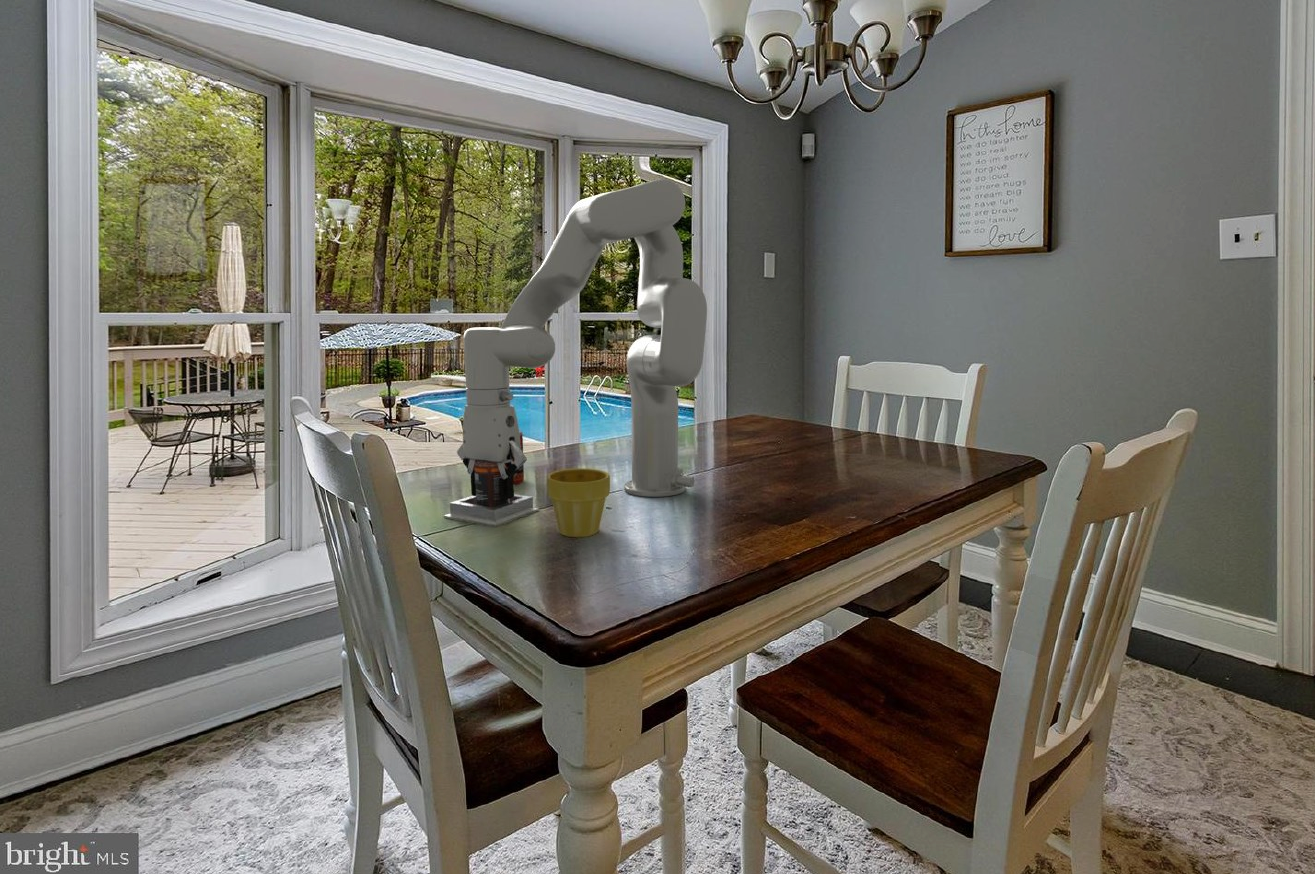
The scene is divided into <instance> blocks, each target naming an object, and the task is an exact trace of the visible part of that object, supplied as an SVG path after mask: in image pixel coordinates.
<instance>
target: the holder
mask: <svg viewBox="0 0 1315 874" xmlns="http://www.w3.org/2000/svg"><path fill="white" fill-rule="evenodd" d="M449 510H450V511H449V513H448V514H444V515H443V518H444V519H449V520H454V521H459V522H460V521H461V522H465V523H472V524H477V525H481V524H482V525H481V526H486V527H487V526H488V527H492V528H497V527H500V526H503V525H505V524H508V523H510V522H513V521H516V520H518V519H521V518H524V517H526V516H529V515H531V514H534V513H537V512H539V511H540V508H539V507H534V497H533V496H529V495H522V494H515V493H514V497H513V498H510V502H509V503H506V504H503V505H500V506H497V507H494V508H493V507H487V506H481V505H476V496H472V495H469V496H467V497H463V498H460V499H458V500H454V501H450V502H449Z"/></svg>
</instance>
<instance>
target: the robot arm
mask: <svg viewBox="0 0 1315 874" xmlns="http://www.w3.org/2000/svg"><path fill="white" fill-rule="evenodd" d="M685 209H686V198H685V194H684V192H683V190H682V189H681V187H680V186H679V185H678V184H677V183H676V182H674V181H672V180H670V179H666V178H658V179H654V180H652V181H648V182H644V183H640V184H636V185H633V186H631V187H627V188H621V189H618V190H613V191H609V192H605V193H599V194H596V195H593V196H590V197H586V198H583V199H580V200H579V201H578V202H576V203H575V204H574V205H573V206H572V207H571V209H570V210H569V212H568V215H567V216H566V218H565V220H564V221H563V224H562V226H561V228H560V230H559V232H558V233H557V234H556V237H555V240H554V241H553V243H552V245H551V247H550V249H549V250H548V253H547V254H546V257H545V259H544V260H543V262H542V264H541V266H540V267H539V268H538V270H537V271H536V272H535V274H534V275H533V276H532V277H531V279H530V280H529V281H528V283H526V285H525V286H524V287H523V289H521V291H520V293H519V294H518V296H517V297H516V298H515V299H514V302H513V303H512V304H511V306H510V309H509V310H508V312H507V314H506V315H505V317H504V320H503V321H502V323H501V326H500V327H497V326H494V327H493V326H491V327H489V326H487V327H486V326H485V327H479V326H478V327H470V328H467V329H466V330H465V331H464V334H463V353H464V354H463V356H464V372H465V373H464V374H465V376H464V377H465V378H464V379H465V396H466V397H465V398H466V405H464V411H463V419H462V444H461V445H460V446H459V448H458V449H457V451H456V455H458V457H459V458H460V460H461V461H462V463H463V465H464V466H465V468H466V471H467V474H468V475H470V489H471V490H470V491H471V492H470V493H471V496H476V487H475V468H474V466H475V462H476V461H477V460H486V461H490V462H494V463H497V465H498V468H499V471H500V474H501V476H502V478H500V479H499V494H500V500H503V501H504V500H507V499H510V498H513V497H514V494H515V485H514V478H513V476H516V474H517V472H518V471H519V469H520V468H521V466H522V465H523V464H525V463H526V462H527V461H528V460H527V456H526V455H525V453H524V451H523V452H522V451H521V445H520V434H519V430H520V427H519V421H518V417H517V411H516V408H515V406H514V404H513V405H512V404H511V401H513V399H514V394H513V393H512V392H510V368H511V367H517V368H525V369H538V368H541V367H543V366H546V365H547V364H548V363H549V362H551V360H552V359H553V358H554V356H555V353H556V342H555V340H554V338H553V336H552V335H551V334H550V332H549V331H548V330H546V329H545V328H544V327H545V326H546V325H547V322H549V320H550V319H551V317H552V316H553V315H554V313H555V312H557V311H558V309H560V308H561V307H562V306H564V304H566V303H568V302H569V301H571V300H572V299H573V298H575V297H576V296H577V295H578V294H579V293H581V292H582V291H583V289H584V288H585V286H586V284H587V283H588V281H589V278H590V276H591V274H592V272H593V270H594V268H595V266H596V264H597V263H598V260H599V258H600V256H601V255H602V252H603V250H604V248H605V247H606V245H607V244H611V243H617V242H621V241H625V240H628V239H634V240H635V242H636V244H637V247H638V250H639V251H638V252H639V275H638V276H639V277H638V288H637V300H636V309H637V310H636V311H637V316H638V318H639V320H640V321H641V322H642V323H643V324H645V326H648V327H651V328H656V329H660V334H647V335H644V336H641V337H639V338H637V339H636V340H635V341H633V343H632V344H631V346H630V347H629V348H628V351H627V355H626V368H627V369H626V371H627V376H628V381H629V382H628V383H629V389H630V401H631V402H630V405H631V406H630V407H631V408H630V411H631V412H630V413H631V421H630V422H631V427H630V428H631V429H630V430H631V480H629V481H626V482H625V483H624V485H623V487H624V488H623V489H624V491H625V492H626V493H627V494H629V495H634V496H638V497H650V498H655V497H656V498H658V497H659V498H661V497H662V498H663V497H670V496H672V497H673V496H675V495H676V496H678V495H679V494H682V493H684V492H685V491H686V487H687V488H693V487H694V486H695V477H694V476H693V475H684V473H683V471H684V469H683V468H682V467H679V400H678V399H679V398H678V394H677V389H676V387H684V386H688V385H690V384H692V383H693V381H695V380H696V379H697V377H698V375H700V371H701V369H702V367H703V366H702V365H703V361H704V353H705V352H704V351H705V342H706V331H707V329H706V328H707V319H708V318H707V316H708V305H707V299H706V296H705V293H704V291H703V289H702V287H700V285H699V284H698V283H697V282H695V281H694V280H692V279H689V278H686V277H684V276H683V274H684V250H683V245H682V241H681V239H680V236H679V233H678V232H677V230H676V229H675V227H674V225H675V224H676V223H678V222H679V220H680V219H681V218H682V217H683V214H684V212H685ZM512 459H515V461H514V463H513V460H512ZM505 464H507V467H508V468H507V469H506V466H505Z"/></svg>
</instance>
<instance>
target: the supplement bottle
mask: <svg viewBox="0 0 1315 874" xmlns="http://www.w3.org/2000/svg"><path fill="white" fill-rule="evenodd" d="M505 466H506V469H507V468H508V467H507V464H505ZM474 468H475V487H476V505H481V506H487V507H493V508H494V507H497V506H500V505H503V504H506V503H509V502H510V499H507V500H504V501H503V500H500V494H499V479H500V478H502V476H501V474H500V471H499V468H498V465H497V463H494V462H490V461H486V460H477V461H476V462H475V466H474Z"/></svg>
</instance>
